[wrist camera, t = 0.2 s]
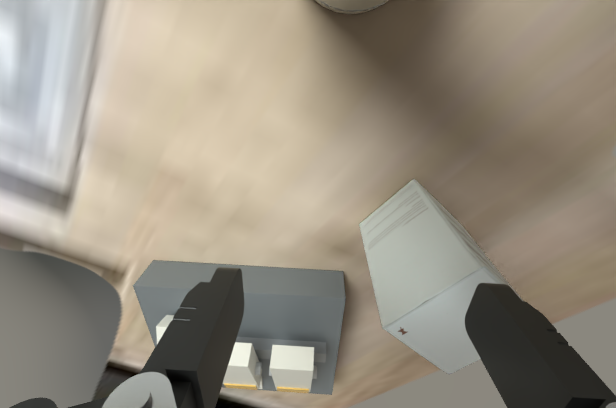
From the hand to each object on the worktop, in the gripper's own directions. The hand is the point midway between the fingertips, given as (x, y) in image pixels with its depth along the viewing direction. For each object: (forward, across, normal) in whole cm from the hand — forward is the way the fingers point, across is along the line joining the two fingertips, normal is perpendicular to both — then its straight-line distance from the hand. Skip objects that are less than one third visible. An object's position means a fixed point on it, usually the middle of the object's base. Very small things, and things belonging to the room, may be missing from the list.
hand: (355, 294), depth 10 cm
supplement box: (+18, -8, +7) cm, 21 cm away
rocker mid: (+11, +9, +22) cm, 26 cm away
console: (+18, +9, +23) cm, 31 cm away
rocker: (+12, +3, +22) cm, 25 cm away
